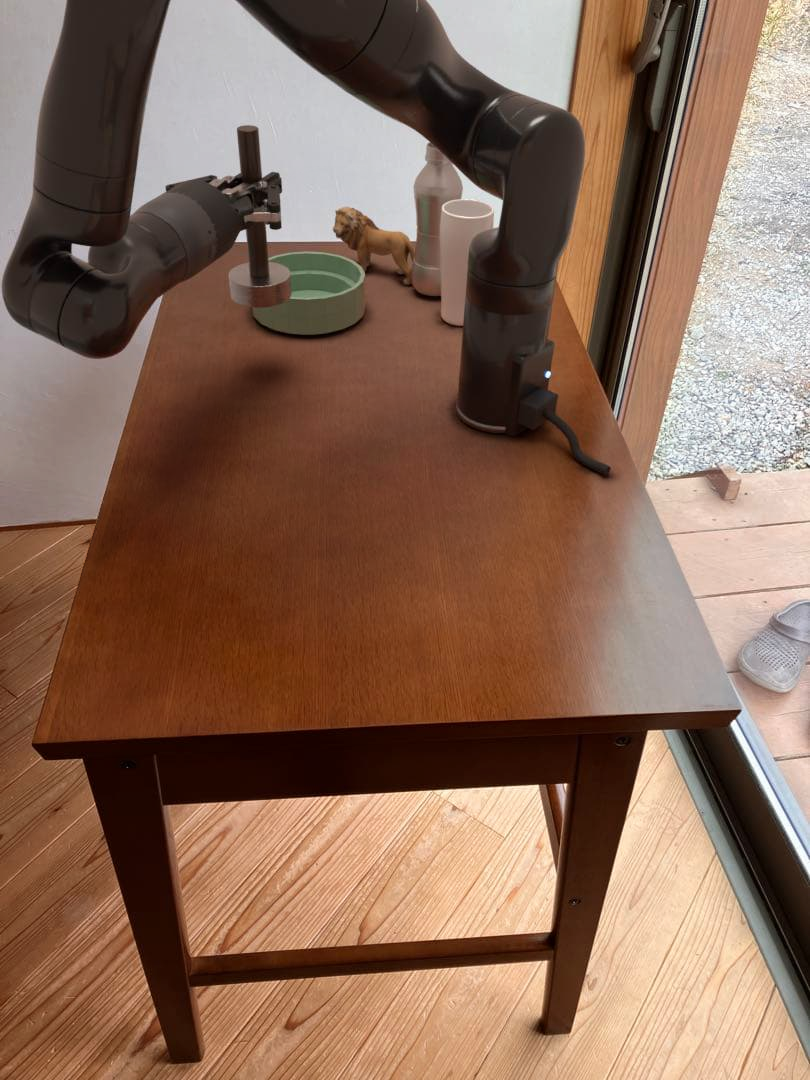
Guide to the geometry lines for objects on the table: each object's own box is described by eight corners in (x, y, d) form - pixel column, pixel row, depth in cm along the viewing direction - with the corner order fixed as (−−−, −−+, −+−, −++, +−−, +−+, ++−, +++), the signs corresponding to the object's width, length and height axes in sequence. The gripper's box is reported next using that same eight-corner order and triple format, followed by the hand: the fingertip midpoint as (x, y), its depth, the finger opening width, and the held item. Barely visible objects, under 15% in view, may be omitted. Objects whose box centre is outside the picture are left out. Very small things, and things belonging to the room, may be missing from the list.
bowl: (387, 312, 121) (388, 273, 118) (307, 350, 113) (306, 310, 109) (309, 279, 129) (308, 242, 125) (229, 313, 120) (225, 274, 116)
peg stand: (304, 294, 102) (296, 128, 91) (259, 313, 98) (244, 142, 87) (263, 276, 106) (250, 114, 94) (217, 294, 102) (198, 127, 90)
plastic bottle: (453, 304, 124) (463, 155, 111) (405, 298, 125) (410, 150, 112) (460, 285, 129) (470, 140, 116) (414, 280, 130) (420, 136, 117)
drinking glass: (426, 322, 119) (431, 211, 110) (448, 303, 124) (455, 195, 114) (472, 334, 117) (481, 221, 107) (492, 314, 122) (503, 204, 112)
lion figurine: (328, 272, 131) (326, 211, 125) (342, 259, 135) (341, 199, 129) (422, 289, 127) (424, 227, 122) (433, 275, 131) (436, 214, 126)
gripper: (241, 204, 80) (322, 152, 92) (110, 183, 83) (205, 134, 96) (248, 284, 85) (324, 223, 97) (124, 260, 88) (213, 204, 101)
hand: (265, 179), depth 96 cm, fingers closed on peg stand
